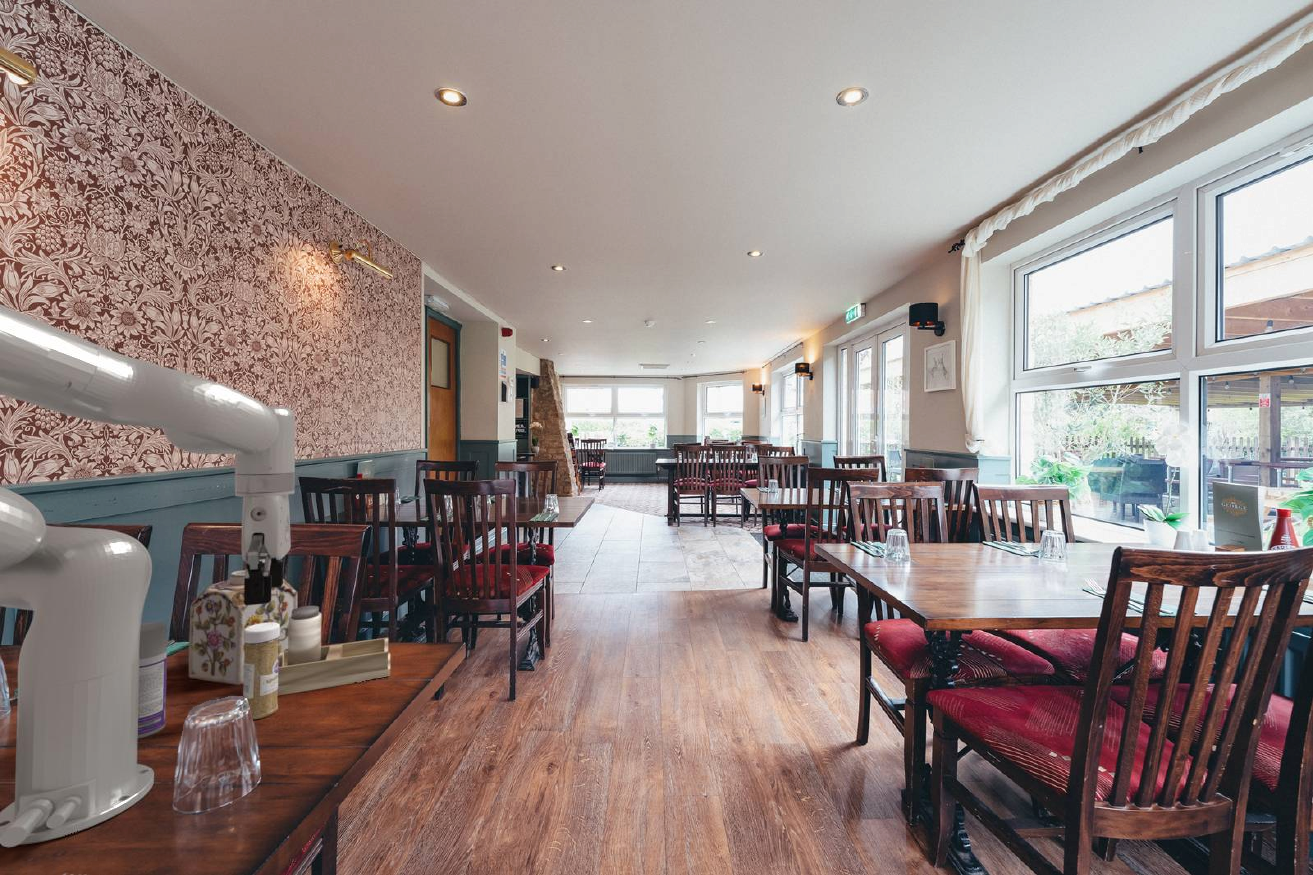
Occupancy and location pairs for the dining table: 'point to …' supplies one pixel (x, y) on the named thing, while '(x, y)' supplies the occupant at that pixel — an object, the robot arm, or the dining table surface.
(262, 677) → the sprinkles bottle
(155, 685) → the container
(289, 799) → the dining table surface
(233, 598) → the decorative jar
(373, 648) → the wooden caddy
